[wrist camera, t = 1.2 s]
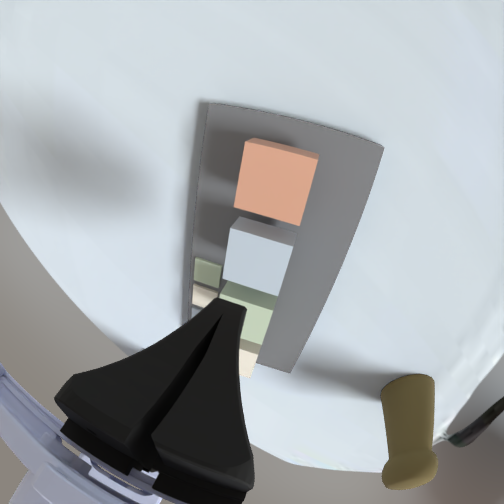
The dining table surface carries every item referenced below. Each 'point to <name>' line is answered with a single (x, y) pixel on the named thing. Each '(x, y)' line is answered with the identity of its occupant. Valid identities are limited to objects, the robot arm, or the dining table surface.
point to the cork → (409, 432)
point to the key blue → (258, 255)
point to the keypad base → (308, 233)
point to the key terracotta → (275, 180)
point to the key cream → (247, 357)
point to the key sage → (251, 309)
